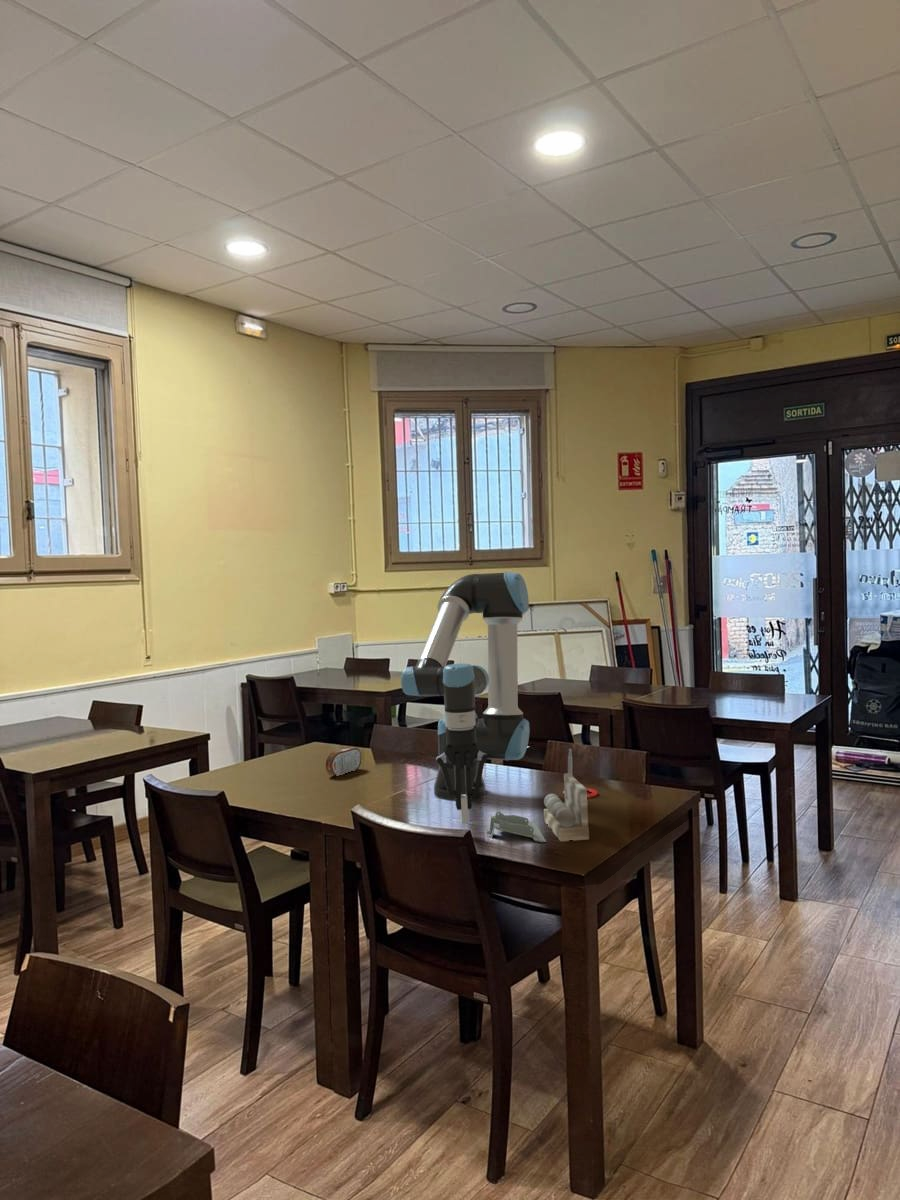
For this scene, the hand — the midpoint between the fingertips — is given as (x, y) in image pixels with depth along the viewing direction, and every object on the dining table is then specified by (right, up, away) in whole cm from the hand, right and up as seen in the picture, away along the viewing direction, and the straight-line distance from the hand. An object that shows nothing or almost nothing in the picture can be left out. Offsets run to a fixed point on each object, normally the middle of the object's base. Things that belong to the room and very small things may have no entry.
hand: (464, 821), depth 203 cm
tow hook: (+34, -2, +34) cm, 48 cm away
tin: (-38, -3, +69) cm, 79 cm away
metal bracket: (+13, -4, 0) cm, 13 cm away
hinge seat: (+25, -3, +3) cm, 26 cm away
